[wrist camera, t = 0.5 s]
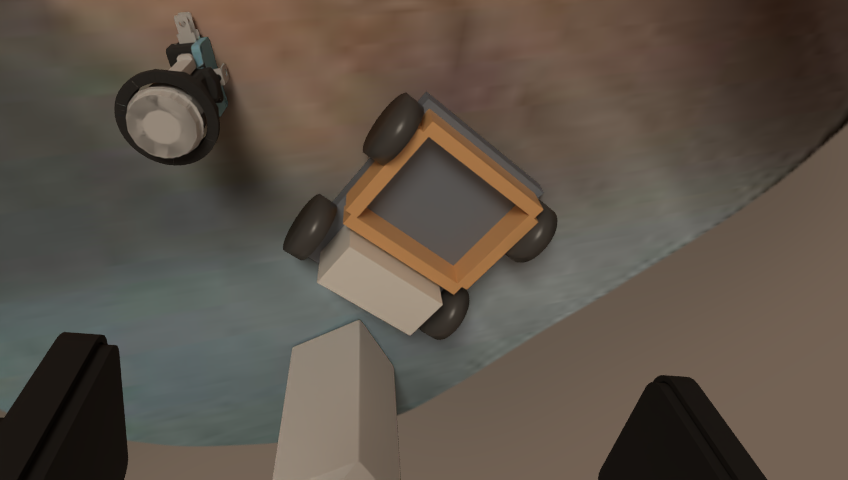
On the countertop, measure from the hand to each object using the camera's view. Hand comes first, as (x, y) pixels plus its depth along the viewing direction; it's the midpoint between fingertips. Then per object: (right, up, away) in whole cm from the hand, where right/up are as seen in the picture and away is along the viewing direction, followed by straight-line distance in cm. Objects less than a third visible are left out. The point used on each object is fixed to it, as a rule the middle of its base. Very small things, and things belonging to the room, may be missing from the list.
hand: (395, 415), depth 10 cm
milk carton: (-7, -8, +43) cm, 45 cm away
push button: (-14, +15, +28) cm, 35 cm away
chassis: (0, +5, +35) cm, 36 cm away
